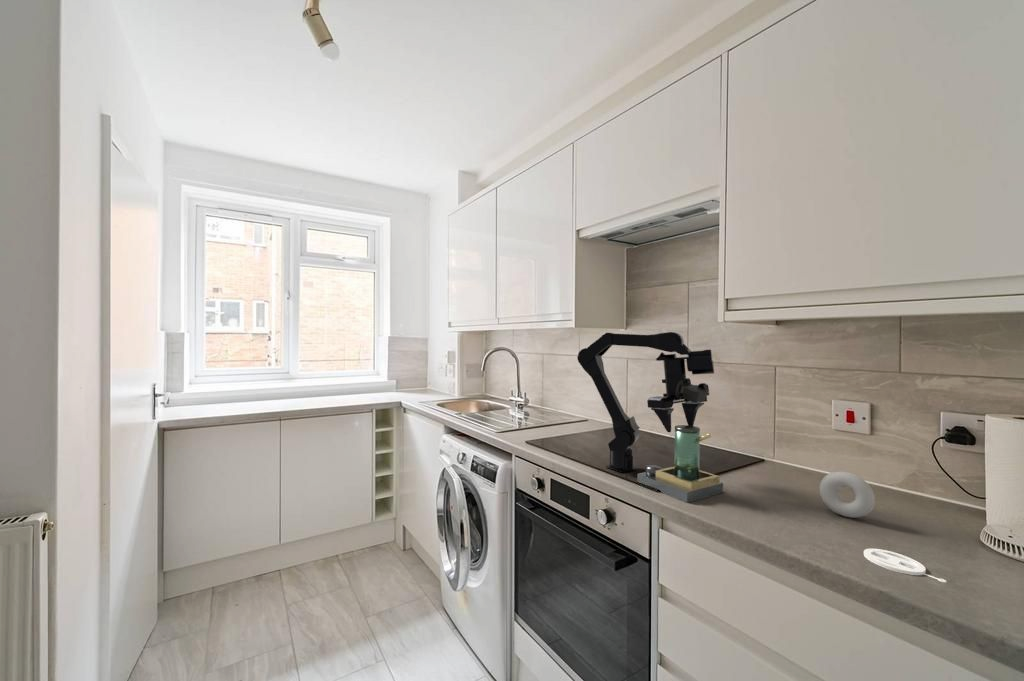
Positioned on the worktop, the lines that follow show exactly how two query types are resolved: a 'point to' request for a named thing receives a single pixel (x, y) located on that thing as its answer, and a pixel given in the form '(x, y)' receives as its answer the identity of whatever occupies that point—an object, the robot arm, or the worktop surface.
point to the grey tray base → (680, 483)
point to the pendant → (896, 562)
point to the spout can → (687, 451)
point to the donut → (856, 484)
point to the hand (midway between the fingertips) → (680, 429)
